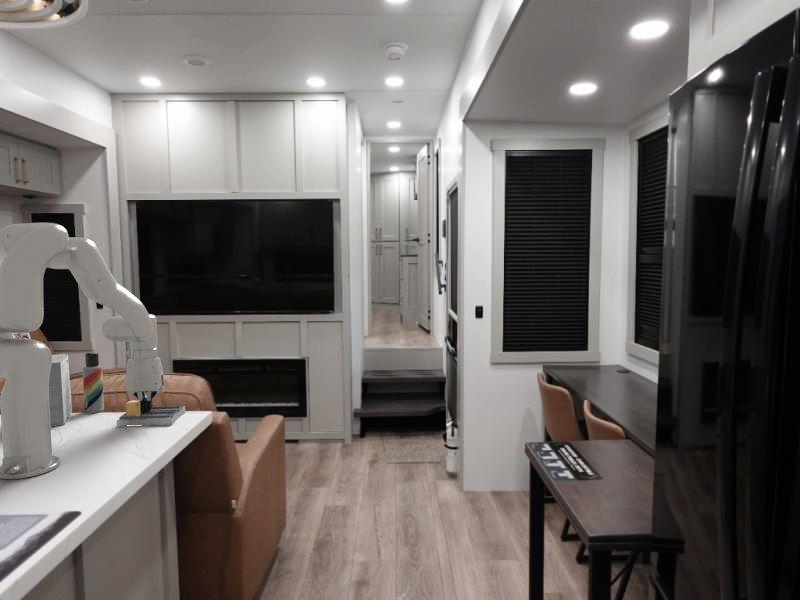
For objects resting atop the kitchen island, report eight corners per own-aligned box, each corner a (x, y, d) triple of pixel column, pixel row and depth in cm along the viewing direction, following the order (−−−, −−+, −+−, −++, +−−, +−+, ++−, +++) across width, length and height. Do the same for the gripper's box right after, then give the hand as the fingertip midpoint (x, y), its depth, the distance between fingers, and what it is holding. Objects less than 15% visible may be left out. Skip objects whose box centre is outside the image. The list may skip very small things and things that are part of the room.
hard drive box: (44, 415, 170) (41, 355, 169) (72, 412, 173) (69, 353, 172) (34, 428, 156) (31, 363, 155) (64, 425, 159) (61, 361, 158)
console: (171, 424, 159) (171, 416, 159) (117, 427, 157) (116, 418, 157) (185, 412, 173) (185, 404, 173) (135, 413, 171) (135, 406, 171)
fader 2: (149, 411, 166) (148, 397, 166) (139, 411, 166) (139, 397, 166) (152, 409, 169) (152, 394, 169) (143, 409, 169) (142, 395, 169)
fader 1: (136, 417, 160) (136, 402, 160) (126, 417, 160) (125, 402, 159) (140, 414, 163) (139, 399, 163) (130, 414, 163) (129, 400, 162)
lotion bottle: (80, 412, 173) (77, 353, 171) (95, 408, 178) (92, 350, 177) (93, 414, 171) (91, 354, 170) (108, 409, 176) (105, 351, 175)
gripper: (113, 356, 156) (116, 416, 157) (165, 355, 158) (167, 415, 159) (124, 352, 163) (126, 410, 165) (173, 351, 165) (175, 408, 166)
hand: (146, 412), depth 162 cm, fingers closed
